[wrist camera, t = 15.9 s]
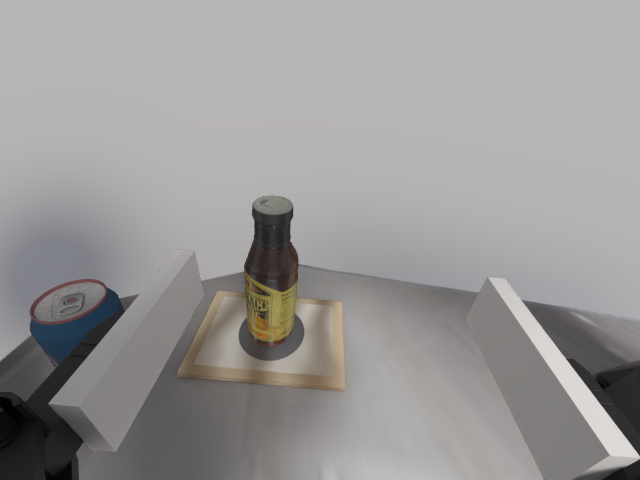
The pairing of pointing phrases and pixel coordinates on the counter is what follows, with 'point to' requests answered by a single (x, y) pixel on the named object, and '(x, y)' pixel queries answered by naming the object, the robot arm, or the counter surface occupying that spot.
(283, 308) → the sauce bottle
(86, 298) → the soda can
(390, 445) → the counter surface
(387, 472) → the counter surface
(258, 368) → the wooden picture frame
